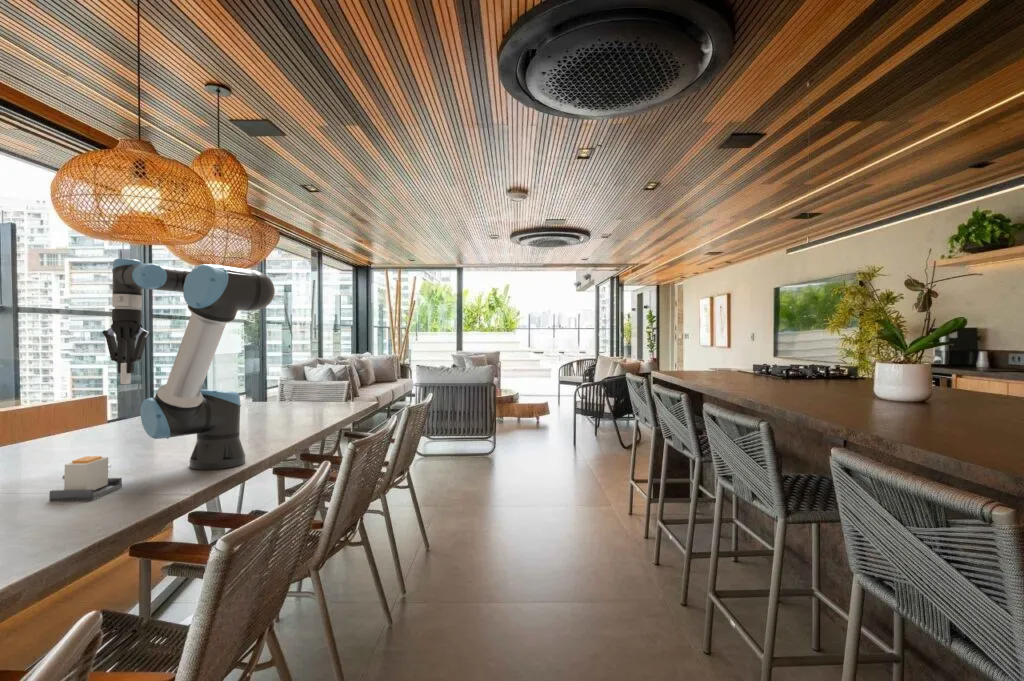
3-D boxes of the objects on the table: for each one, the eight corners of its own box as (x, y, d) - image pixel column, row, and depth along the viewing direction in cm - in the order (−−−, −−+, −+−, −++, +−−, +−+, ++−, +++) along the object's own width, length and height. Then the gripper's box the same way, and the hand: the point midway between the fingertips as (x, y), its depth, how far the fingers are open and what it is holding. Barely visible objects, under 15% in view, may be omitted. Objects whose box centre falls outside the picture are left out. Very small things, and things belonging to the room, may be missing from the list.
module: (107, 484, 136) (108, 454, 136) (86, 493, 128) (87, 462, 128) (86, 484, 135) (87, 455, 135) (64, 493, 127) (64, 462, 127)
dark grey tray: (121, 487, 138) (121, 477, 138) (90, 501, 126) (90, 490, 126) (84, 487, 137) (84, 477, 137) (49, 501, 125) (49, 491, 125)
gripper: (96, 307, 162) (95, 384, 162) (142, 308, 163) (140, 384, 163) (112, 308, 169) (110, 382, 169) (155, 309, 171) (154, 383, 171)
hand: (125, 383), depth 166 cm, fingers closed
